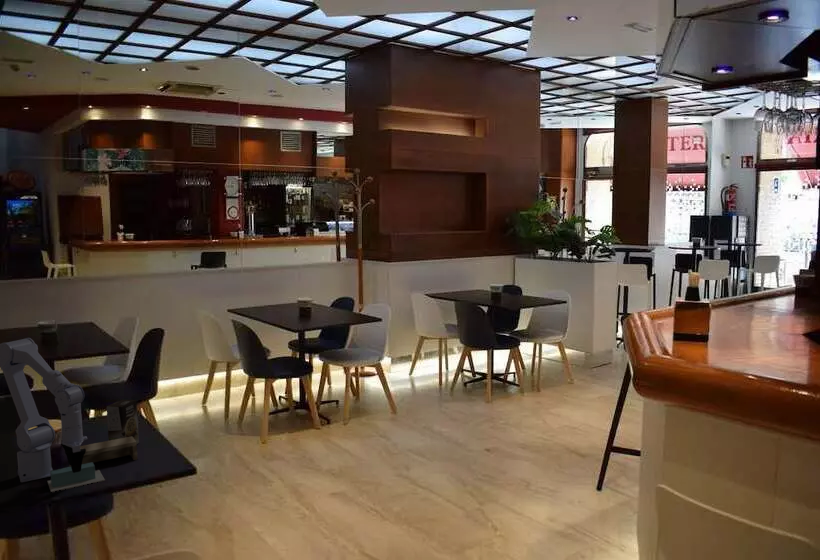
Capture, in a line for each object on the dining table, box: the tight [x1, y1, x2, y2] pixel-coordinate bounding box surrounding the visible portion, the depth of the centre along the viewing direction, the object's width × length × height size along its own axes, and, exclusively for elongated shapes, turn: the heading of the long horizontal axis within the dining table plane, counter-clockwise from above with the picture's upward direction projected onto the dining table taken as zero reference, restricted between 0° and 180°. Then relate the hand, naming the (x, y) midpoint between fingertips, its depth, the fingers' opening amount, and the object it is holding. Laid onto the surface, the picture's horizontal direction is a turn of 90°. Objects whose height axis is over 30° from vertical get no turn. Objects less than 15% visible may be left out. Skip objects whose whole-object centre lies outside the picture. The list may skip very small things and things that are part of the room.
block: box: [50, 462, 96, 487], centre depth 214 cm, size 4×12×4 cm, turn 123°
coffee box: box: [106, 399, 140, 445], centre depth 245 cm, size 9×6×16 cm
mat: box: [47, 469, 106, 493], centre depth 214 cm, size 15×10×1 cm, turn 123°
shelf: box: [68, 436, 138, 467], centre depth 229 cm, size 20×7×6 cm, turn 123°
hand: (74, 468), depth 214 cm, fingers open, 7 cm apart
